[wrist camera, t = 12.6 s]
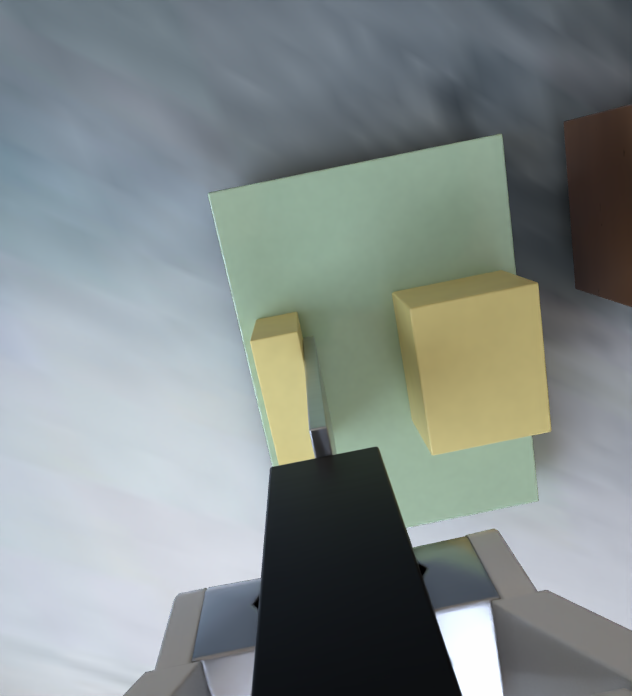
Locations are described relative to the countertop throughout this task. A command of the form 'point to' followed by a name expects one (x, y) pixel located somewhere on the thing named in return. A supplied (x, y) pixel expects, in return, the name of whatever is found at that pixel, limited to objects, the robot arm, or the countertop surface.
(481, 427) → the butter block
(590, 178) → the knife block
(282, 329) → the butter slice
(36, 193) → the countertop surface
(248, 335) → the butter dish
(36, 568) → the countertop surface
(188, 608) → the robot arm
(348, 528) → the knife
